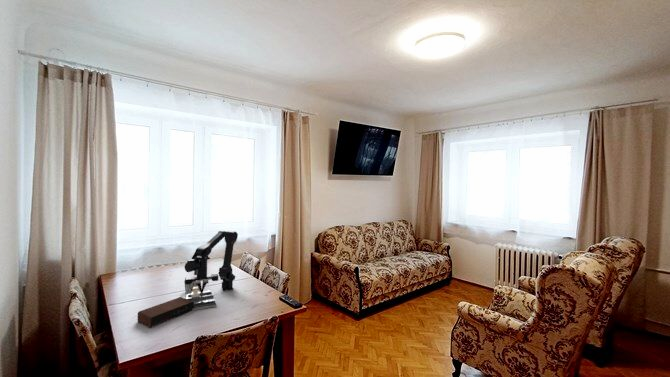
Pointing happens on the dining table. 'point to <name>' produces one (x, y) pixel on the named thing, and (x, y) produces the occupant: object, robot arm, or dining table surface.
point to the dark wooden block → (165, 312)
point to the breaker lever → (195, 292)
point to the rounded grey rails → (204, 306)
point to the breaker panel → (202, 298)
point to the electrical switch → (190, 287)
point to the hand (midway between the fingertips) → (201, 292)
